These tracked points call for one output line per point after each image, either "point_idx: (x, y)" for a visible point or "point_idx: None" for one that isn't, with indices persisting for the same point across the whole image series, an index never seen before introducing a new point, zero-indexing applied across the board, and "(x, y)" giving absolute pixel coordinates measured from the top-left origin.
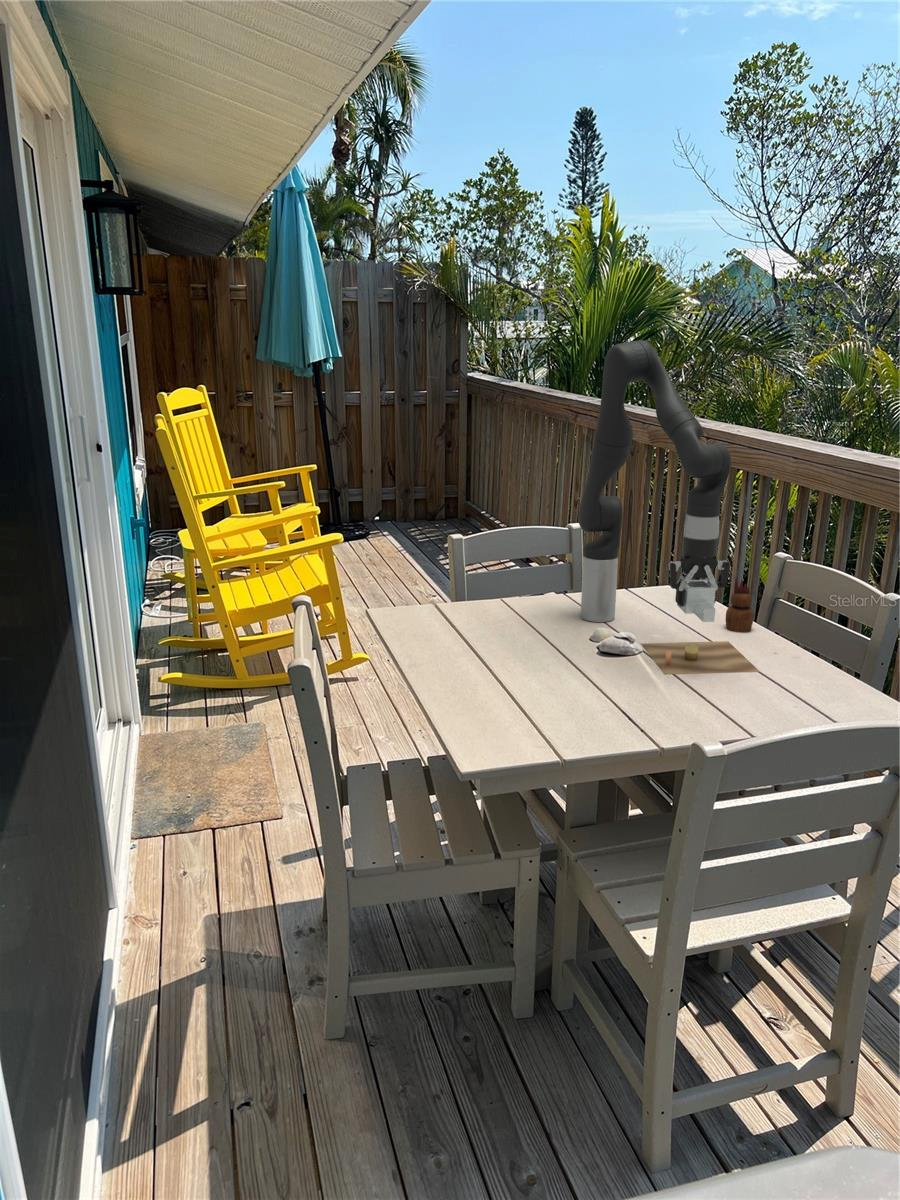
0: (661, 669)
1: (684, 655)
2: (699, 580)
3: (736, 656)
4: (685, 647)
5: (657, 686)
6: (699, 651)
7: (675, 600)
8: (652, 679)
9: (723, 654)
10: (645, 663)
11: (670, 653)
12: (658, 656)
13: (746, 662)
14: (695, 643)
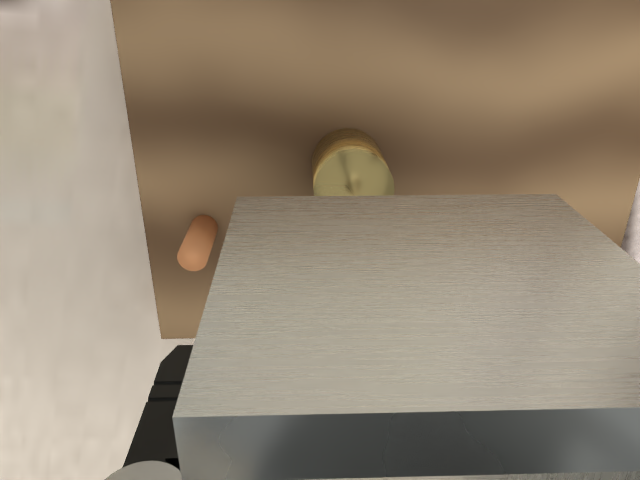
0: (158, 289)
1: (313, 161)
2: (633, 436)
3: (606, 146)
4: (313, 184)
5: (131, 370)
6: (440, 52)
7: (162, 364)
8: (120, 307)
9: (554, 110)
10: (110, 118)
11: (200, 266)
12: (173, 119)
13: (605, 229)
14: (383, 172)
